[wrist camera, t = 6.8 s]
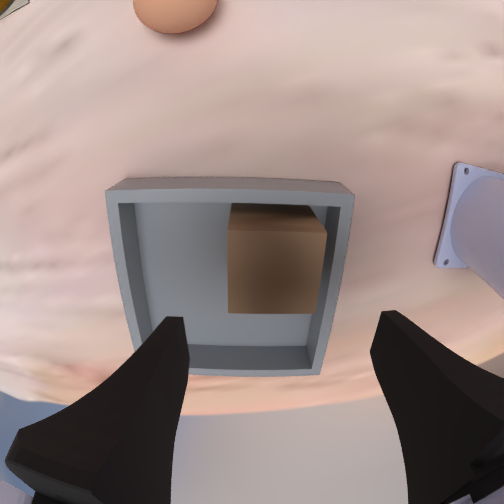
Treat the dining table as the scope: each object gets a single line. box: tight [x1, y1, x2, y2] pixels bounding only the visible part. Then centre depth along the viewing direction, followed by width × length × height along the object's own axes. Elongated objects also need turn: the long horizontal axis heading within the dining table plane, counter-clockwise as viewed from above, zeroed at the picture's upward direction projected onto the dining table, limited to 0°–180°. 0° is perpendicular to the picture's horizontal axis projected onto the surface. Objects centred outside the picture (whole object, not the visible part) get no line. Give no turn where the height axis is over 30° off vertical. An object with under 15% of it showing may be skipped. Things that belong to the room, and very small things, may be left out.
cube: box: [228, 203, 327, 314], centre depth 17 cm, size 4×4×4 cm
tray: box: [105, 177, 355, 377], centre depth 19 cm, size 13×13×3 cm
